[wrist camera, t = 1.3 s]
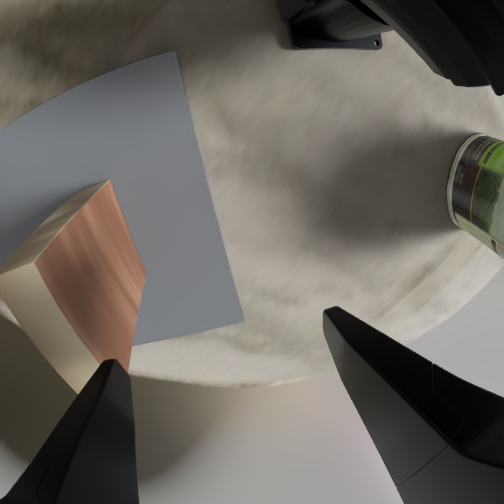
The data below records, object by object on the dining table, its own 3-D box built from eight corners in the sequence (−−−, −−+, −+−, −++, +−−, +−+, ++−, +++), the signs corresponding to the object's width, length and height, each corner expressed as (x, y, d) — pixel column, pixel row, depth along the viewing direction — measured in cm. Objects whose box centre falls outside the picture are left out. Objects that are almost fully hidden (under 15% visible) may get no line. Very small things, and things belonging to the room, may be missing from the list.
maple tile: (110, 179, 16) (33, 261, 7) (147, 273, 19) (125, 394, 11) (77, 191, 16) (-9, 278, 7) (116, 281, 19) (81, 397, 10)
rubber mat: (176, 51, 13) (175, 49, 13) (243, 317, 23) (244, 321, 23) (-47, 169, 12) (-49, 170, 12) (51, 355, 22) (50, 358, 22)
